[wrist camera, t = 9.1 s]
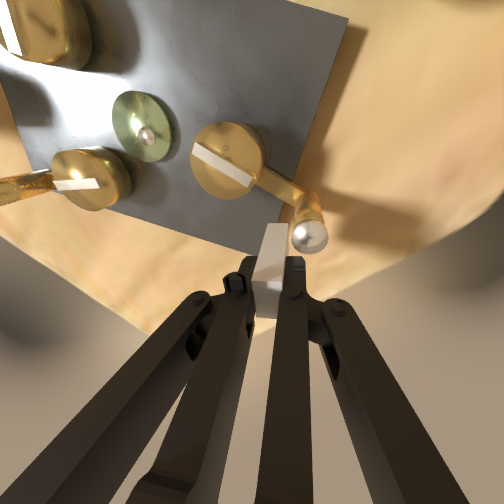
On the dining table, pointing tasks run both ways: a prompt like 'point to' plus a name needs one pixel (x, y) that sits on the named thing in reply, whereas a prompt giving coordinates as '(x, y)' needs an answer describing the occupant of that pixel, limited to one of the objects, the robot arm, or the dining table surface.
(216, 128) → the knob
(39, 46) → the knob
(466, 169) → the dining table surface
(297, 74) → the control panel
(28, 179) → the knob
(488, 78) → the dining table surface
